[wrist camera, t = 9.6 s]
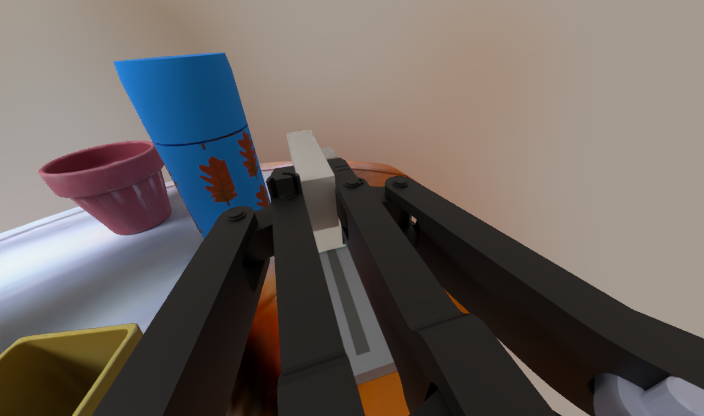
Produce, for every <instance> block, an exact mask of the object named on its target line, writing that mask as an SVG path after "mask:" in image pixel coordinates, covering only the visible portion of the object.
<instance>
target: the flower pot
mask: <svg viewBox="0 0 704 416" xmlns="http://www.w3.org/2000/svg"><path fill="white" fill-rule="evenodd" d="M142 336H143V333H142V331H141V330H140V328H139V326H138V324H137V323H130V324H122V325H115V326H106V327H100V328H91V329H83V330H75V331H66V332H57V333H47V334H38V335H32V336H26V337H21V338H19V339H18V340H17V341H16V342H14V343H13V344H12V345H11V346H10V347H8V348H7V349H6V350H5V351H4V352H3V353H2V354H1V355H0V416H92V414H93V413H94V411H95V410H96V408H97V407H98V405H99V403H100V402H101V400H102V399H103V397H104V396H105V394H106V392H107V391H108V389H109V388H110V386H111V385H112V383H113V382H114V380H115V378H116V377H117V375H118V374H119V372H120V371H121V369H122V367H123V366H124V364H125V363H126V361H127V360H128V358H129V356H130V355H131V353H132V352H133V350H134V349H135V347H136V346H137V344H138V342H139V341H140V339H141V338H142Z"/></svg>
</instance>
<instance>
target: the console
mask: <svg viewBox="0 0 704 416" xmlns="http://www.w3.org/2000/svg"><path fill="white" fill-rule="evenodd" d="M319 255H320V259H321V263H322V267H323V270H324V274H325V278H326V282H327V285H328V289H329V293H330V296H331V300H332V304H333V308H334V311H335V315H336V319H337V323H338V326H339V330H340V334H341V337H342V341H343V345H344V348H345V351H346V354H347V355H348V357H349V360H350V363H351V367H352V370H353V374H354V377H355V381H356V385H359V384H362V383H365V382H368V381H370V380H373V379H376V378H379V377H381V376H384V375H387V374H390V373H393V372H395V371H397V368H396V366H395V363H394V361H393V358H392V356H391V353H390V351H389V348H388V346H387V343H386V341H385V338H384V336H383V334H382V331H381V329H380V326H379V324H378V321H377V319H376V316H375V314H374V311H373V309H372V306H371V304H370V301H369V299H368V296H367V294H366V291H365V289H364V286H363V284H362V282H361V279H360V277H359V274H358V272H357V269H356V267H355V264H354V262H353V259H352V257H351V254H350V252H349V249H348V247H347V244H346V242H345V246H344V247H340V248H336V249H331V250H327V251H323V252H319Z"/></svg>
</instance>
